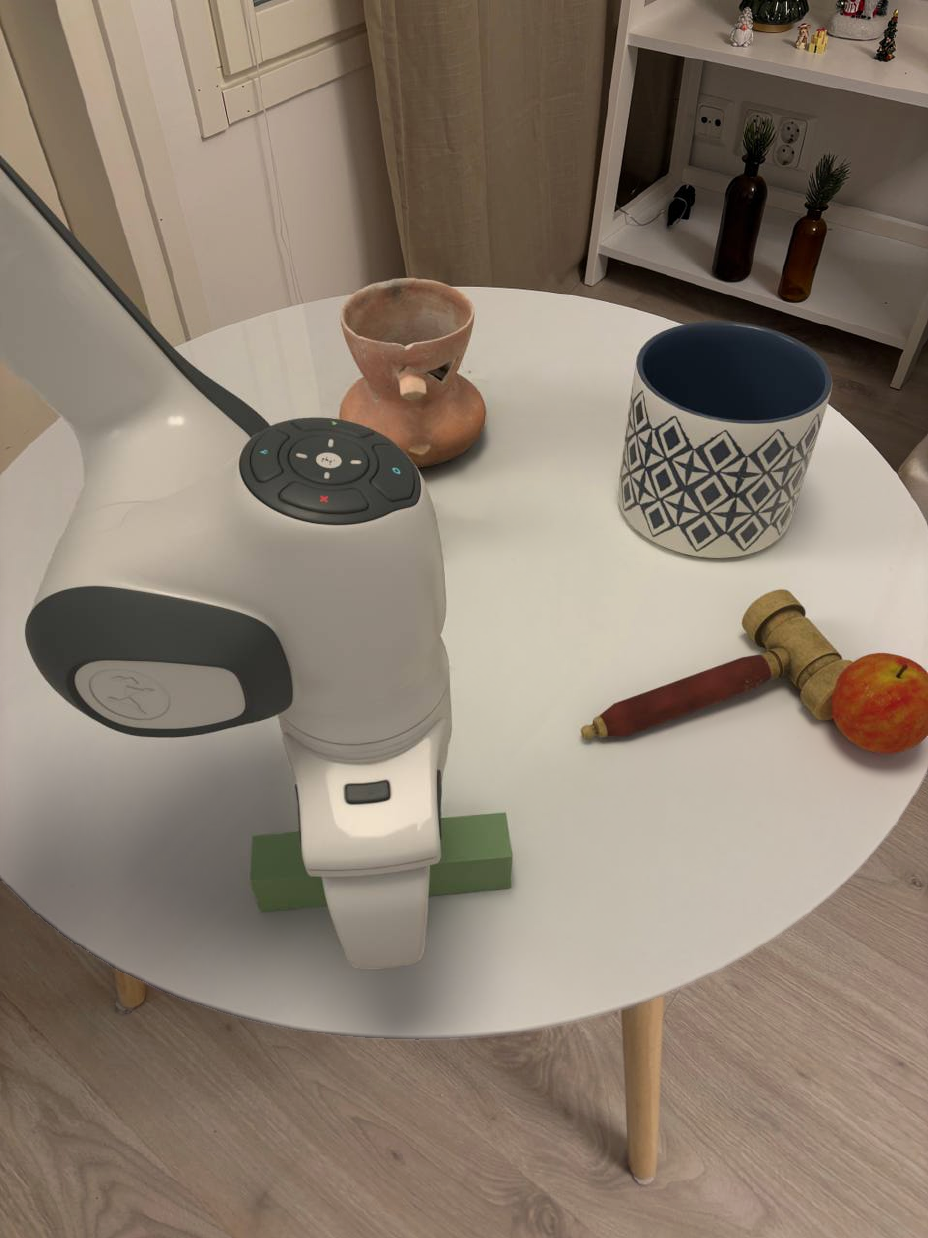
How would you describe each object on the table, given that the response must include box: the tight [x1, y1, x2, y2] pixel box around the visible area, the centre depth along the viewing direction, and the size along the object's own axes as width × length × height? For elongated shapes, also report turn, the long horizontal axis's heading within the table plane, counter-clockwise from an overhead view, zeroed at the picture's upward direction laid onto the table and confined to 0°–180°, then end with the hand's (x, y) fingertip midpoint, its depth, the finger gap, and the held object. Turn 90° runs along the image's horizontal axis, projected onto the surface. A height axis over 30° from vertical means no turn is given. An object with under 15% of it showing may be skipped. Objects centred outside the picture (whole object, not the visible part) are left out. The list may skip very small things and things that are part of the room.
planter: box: [617, 320, 833, 559], centre depth 82 cm, size 16×16×14 cm
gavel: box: [580, 588, 854, 740], centre depth 70 cm, size 21×5×10 cm
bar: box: [249, 811, 514, 913], centre depth 59 cm, size 16×3×4 cm, turn 96°
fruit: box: [831, 652, 928, 755], centre depth 66 cm, size 7×7×8 cm
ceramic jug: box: [338, 277, 487, 468], centre depth 90 cm, size 18×14×14 cm
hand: (387, 848), depth 58 cm, fingers open, 8 cm apart
